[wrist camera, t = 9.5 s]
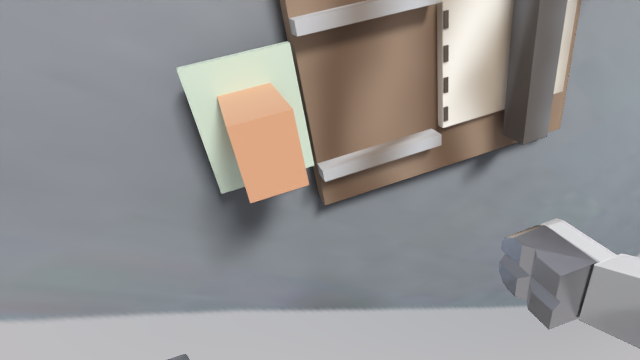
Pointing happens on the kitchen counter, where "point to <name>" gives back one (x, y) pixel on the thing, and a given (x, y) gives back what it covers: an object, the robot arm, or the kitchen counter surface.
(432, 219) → the kitchen counter surface
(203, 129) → the orange block with base
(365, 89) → the ticket board
